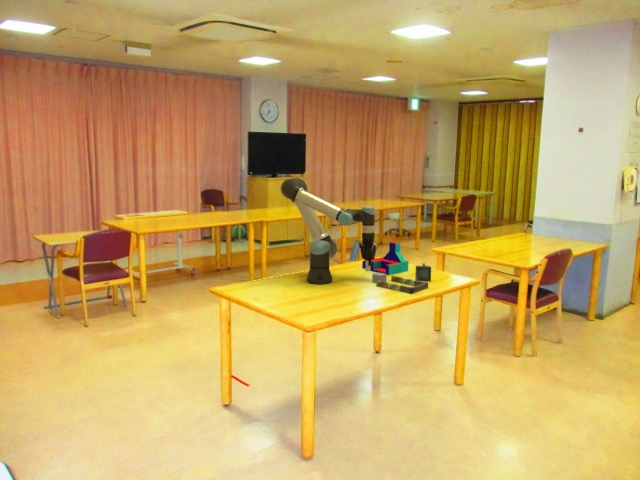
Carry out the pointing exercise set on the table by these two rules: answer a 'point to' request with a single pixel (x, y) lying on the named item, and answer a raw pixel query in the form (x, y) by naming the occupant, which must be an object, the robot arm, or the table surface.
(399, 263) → the building blocks toy
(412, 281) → the channel rails
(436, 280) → the table surface
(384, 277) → the block
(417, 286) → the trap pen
